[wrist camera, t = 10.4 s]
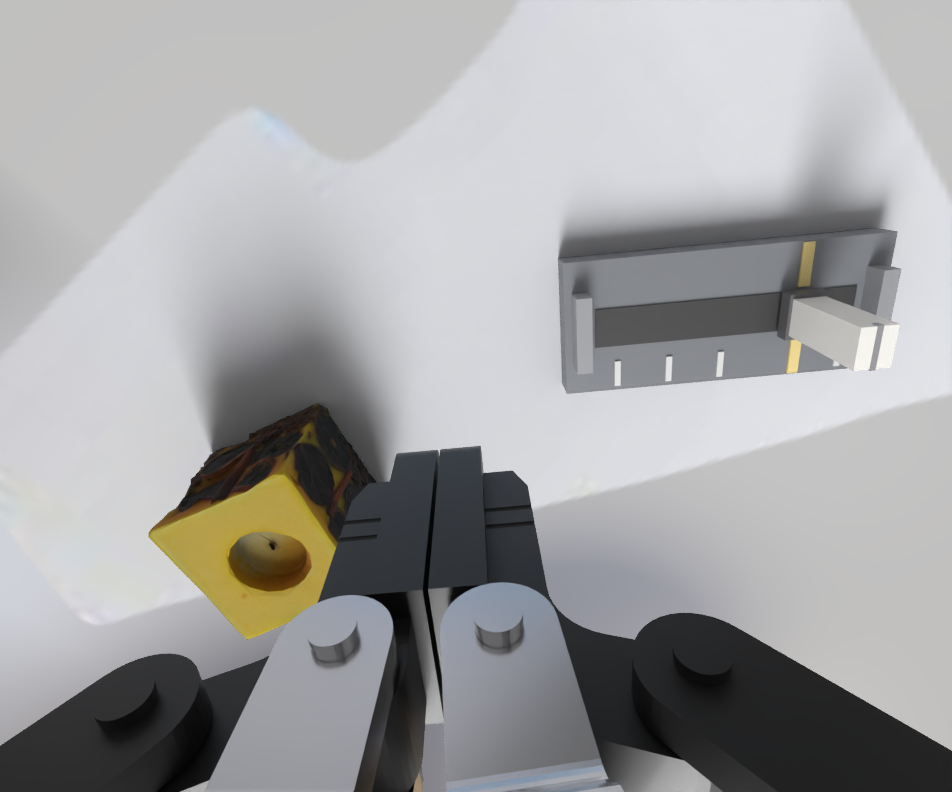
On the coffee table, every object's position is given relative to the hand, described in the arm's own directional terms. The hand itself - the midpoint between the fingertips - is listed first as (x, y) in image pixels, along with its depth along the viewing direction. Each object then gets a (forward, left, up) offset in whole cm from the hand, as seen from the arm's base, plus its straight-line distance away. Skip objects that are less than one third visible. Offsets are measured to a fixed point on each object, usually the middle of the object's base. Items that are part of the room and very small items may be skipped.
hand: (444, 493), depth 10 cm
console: (+6, +17, -29) cm, 34 cm away
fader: (+5, +22, -26) cm, 35 cm away
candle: (+16, -14, -29) cm, 36 cm away
